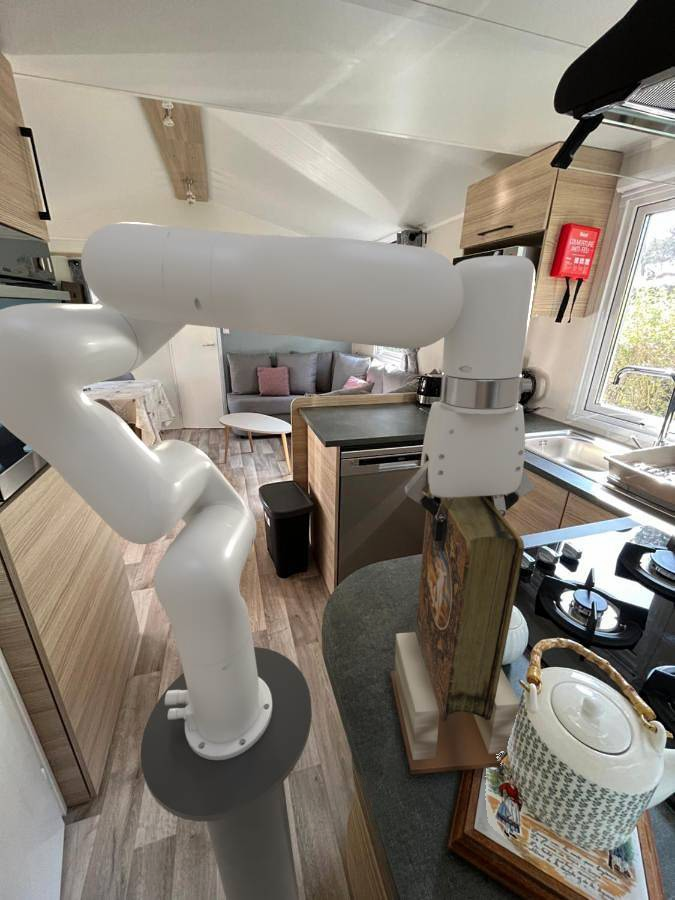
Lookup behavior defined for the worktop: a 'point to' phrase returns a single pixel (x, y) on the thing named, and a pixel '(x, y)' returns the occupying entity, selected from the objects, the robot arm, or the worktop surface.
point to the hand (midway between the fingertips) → (463, 542)
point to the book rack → (461, 734)
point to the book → (467, 604)
